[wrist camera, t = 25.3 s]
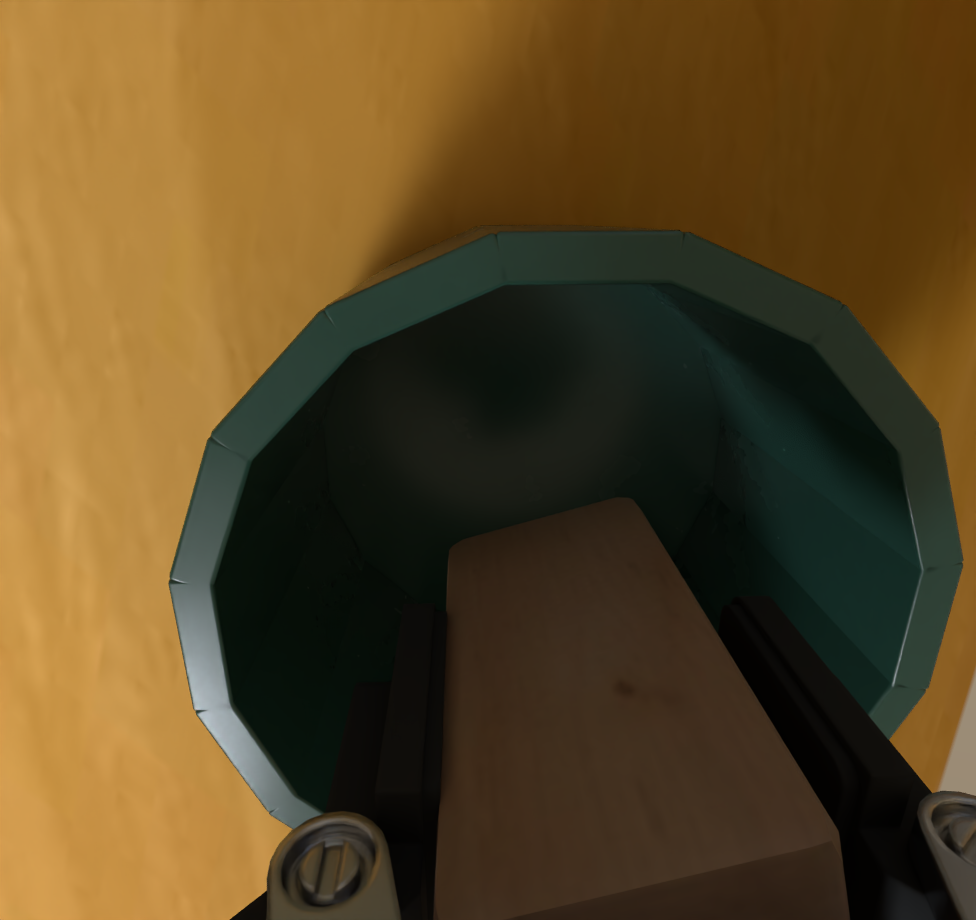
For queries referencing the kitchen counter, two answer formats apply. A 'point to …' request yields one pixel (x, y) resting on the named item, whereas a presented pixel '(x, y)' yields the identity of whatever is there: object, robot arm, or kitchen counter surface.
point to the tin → (554, 472)
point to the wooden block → (611, 743)
